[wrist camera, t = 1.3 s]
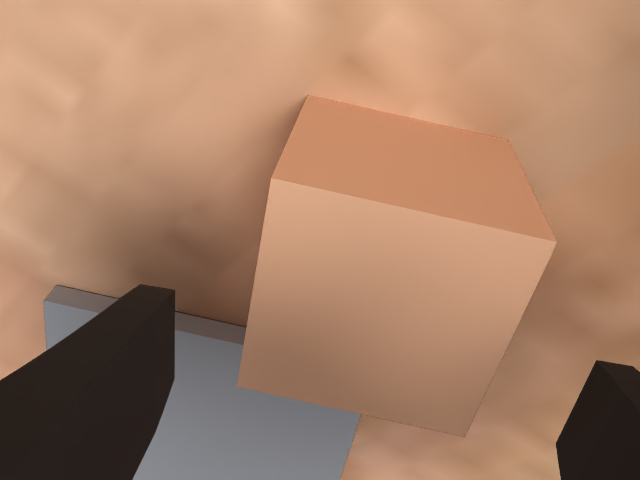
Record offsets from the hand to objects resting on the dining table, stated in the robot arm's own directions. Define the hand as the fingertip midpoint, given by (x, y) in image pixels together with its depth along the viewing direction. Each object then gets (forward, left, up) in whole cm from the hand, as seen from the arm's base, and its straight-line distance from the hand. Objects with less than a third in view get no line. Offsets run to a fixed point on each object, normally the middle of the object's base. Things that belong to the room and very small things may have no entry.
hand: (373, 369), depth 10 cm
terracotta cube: (0, 0, -6) cm, 6 cm away
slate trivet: (+4, +10, -6) cm, 12 cm away
